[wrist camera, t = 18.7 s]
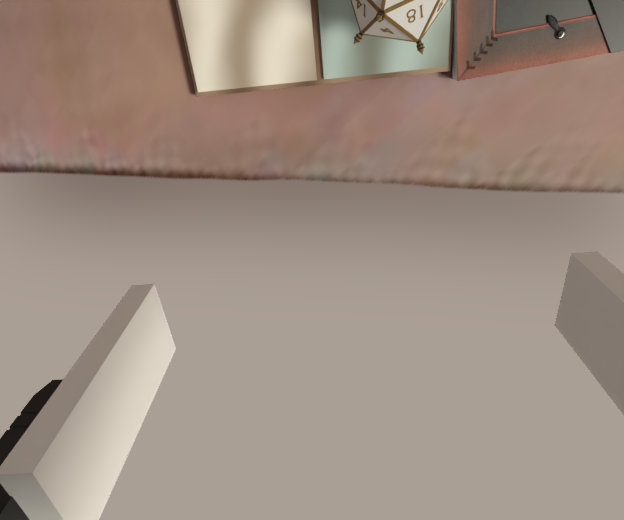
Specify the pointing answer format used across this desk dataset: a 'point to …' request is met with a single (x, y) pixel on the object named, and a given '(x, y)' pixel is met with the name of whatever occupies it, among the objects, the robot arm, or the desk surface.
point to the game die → (396, 18)
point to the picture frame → (531, 33)
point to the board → (297, 45)
